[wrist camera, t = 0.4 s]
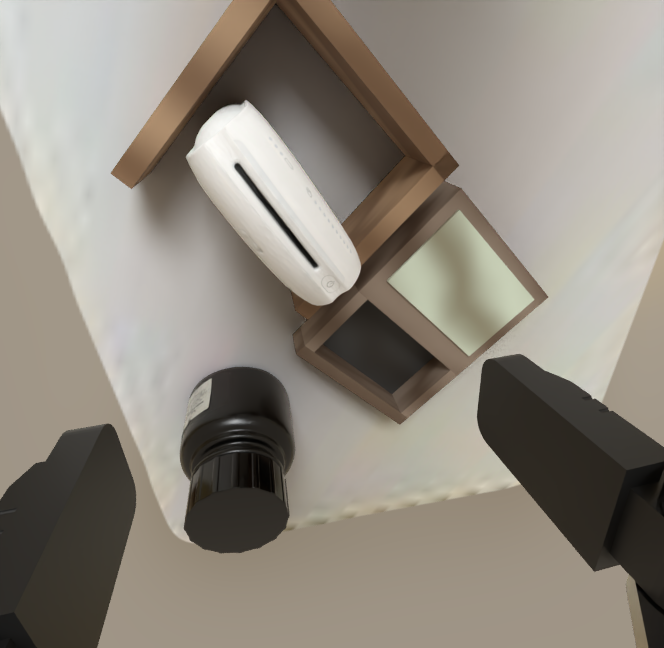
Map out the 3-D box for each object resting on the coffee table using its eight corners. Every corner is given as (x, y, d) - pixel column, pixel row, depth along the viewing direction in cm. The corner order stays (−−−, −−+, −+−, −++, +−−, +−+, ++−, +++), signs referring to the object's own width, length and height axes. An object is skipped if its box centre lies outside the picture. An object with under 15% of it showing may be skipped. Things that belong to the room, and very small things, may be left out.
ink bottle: (177, 367, 34) (148, 485, 24) (283, 352, 35) (298, 460, 25) (200, 449, 39) (185, 576, 29) (292, 434, 40) (308, 551, 30)
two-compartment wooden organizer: (443, 180, 30) (462, 189, 27) (527, 282, 36) (549, 298, 33) (292, 334, 34) (296, 355, 32) (390, 403, 40) (400, 426, 38)
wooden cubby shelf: (273, -36, 22) (279, -66, 18) (427, 154, 29) (458, 165, 25) (132, 160, 26) (110, 173, 22) (300, 290, 32) (308, 320, 28)
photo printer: (336, 218, 30) (386, 286, 20) (291, 252, 31) (315, 336, 20) (245, 86, 25) (245, 83, 14) (192, 131, 26) (156, 158, 15)
